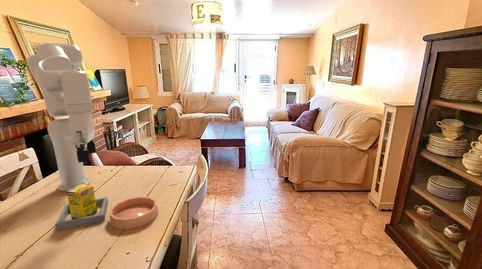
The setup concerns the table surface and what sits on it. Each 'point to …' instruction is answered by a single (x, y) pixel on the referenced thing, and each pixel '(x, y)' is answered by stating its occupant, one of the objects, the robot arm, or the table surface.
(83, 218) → the open square frame
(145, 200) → the bowl
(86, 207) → the supplement box
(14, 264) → the table surface
